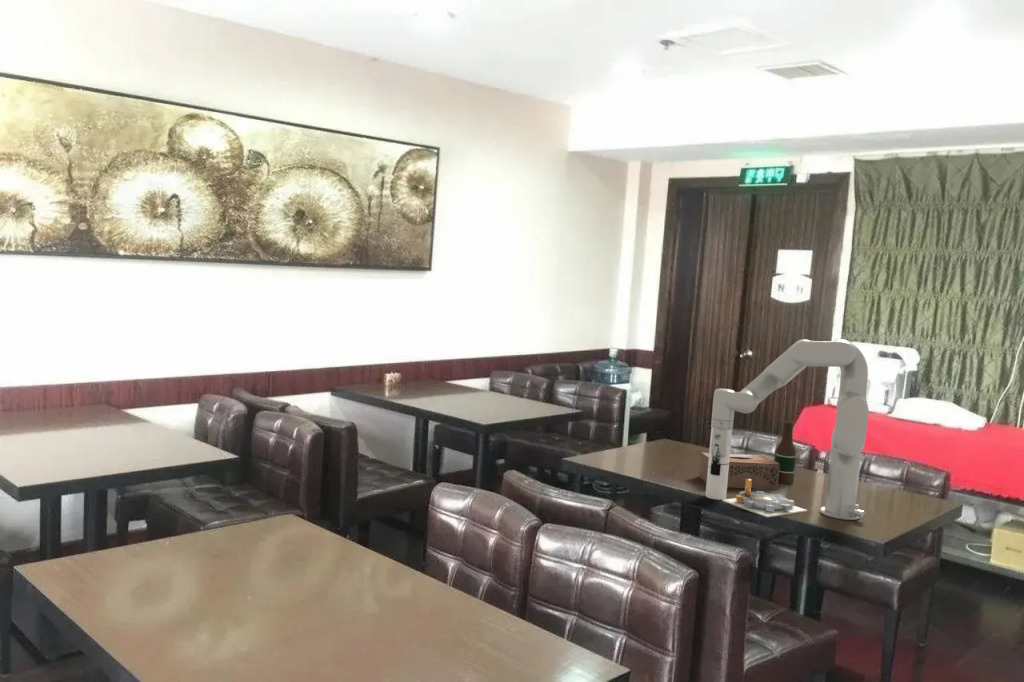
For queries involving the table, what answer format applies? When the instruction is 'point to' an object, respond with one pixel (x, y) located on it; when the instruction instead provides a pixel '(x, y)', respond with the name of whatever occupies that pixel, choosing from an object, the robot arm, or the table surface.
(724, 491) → the cylindrical container
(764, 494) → the sprocket
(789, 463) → the beer bottle
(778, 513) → the sprocket base
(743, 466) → the tissue box cover
